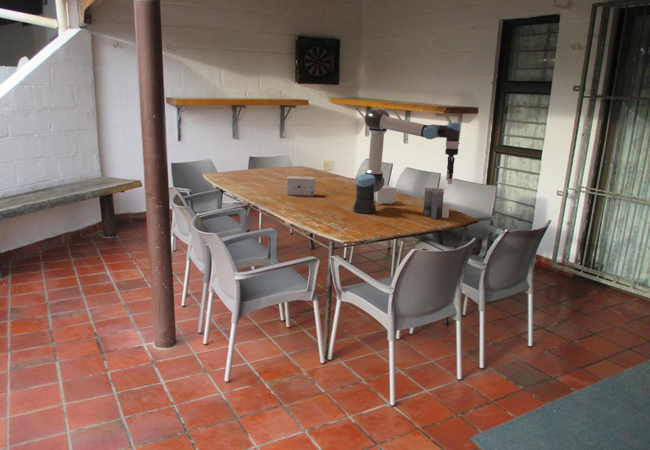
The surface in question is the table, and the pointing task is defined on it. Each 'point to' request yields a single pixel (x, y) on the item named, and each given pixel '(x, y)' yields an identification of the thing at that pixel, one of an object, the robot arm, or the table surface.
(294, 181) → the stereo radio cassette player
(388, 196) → the cable organizer
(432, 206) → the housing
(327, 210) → the table surface
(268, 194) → the table surface
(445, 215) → the plug
